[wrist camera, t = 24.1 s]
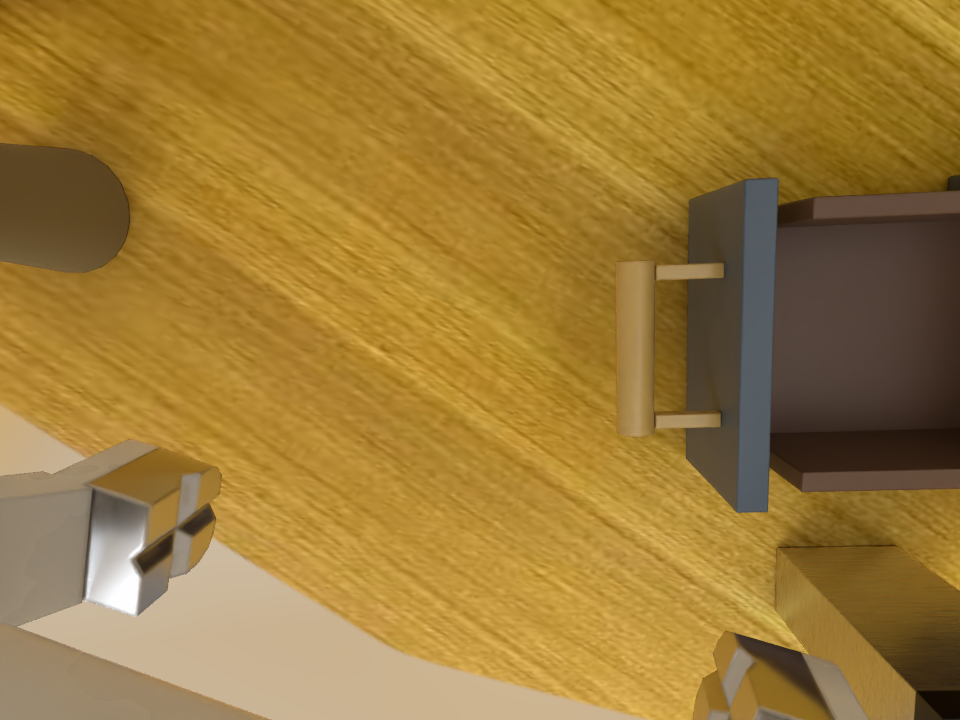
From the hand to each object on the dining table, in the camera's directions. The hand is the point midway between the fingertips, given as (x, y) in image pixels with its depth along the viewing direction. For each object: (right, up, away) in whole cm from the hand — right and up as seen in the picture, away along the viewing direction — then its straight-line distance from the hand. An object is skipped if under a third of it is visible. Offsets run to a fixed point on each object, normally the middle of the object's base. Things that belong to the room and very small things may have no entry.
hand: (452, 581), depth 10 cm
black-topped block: (+19, -8, +22) cm, 30 cm away
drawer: (+15, +5, +20) cm, 25 cm away
